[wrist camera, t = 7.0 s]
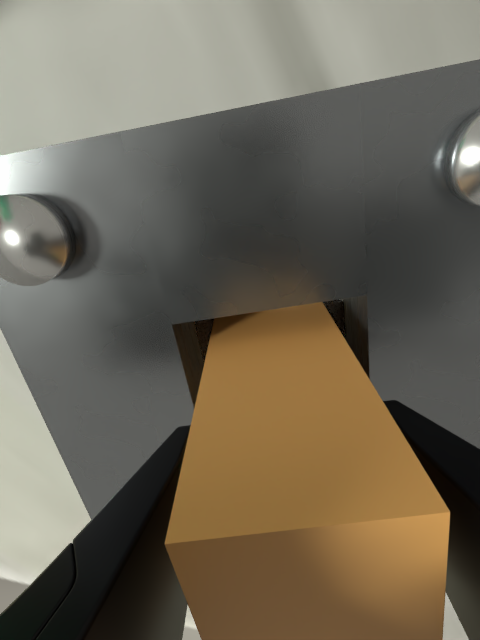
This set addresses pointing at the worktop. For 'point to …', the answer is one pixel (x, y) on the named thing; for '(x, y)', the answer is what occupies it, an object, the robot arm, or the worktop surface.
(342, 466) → the tan square peg
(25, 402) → the worktop surface
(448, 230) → the grey square hole plate
